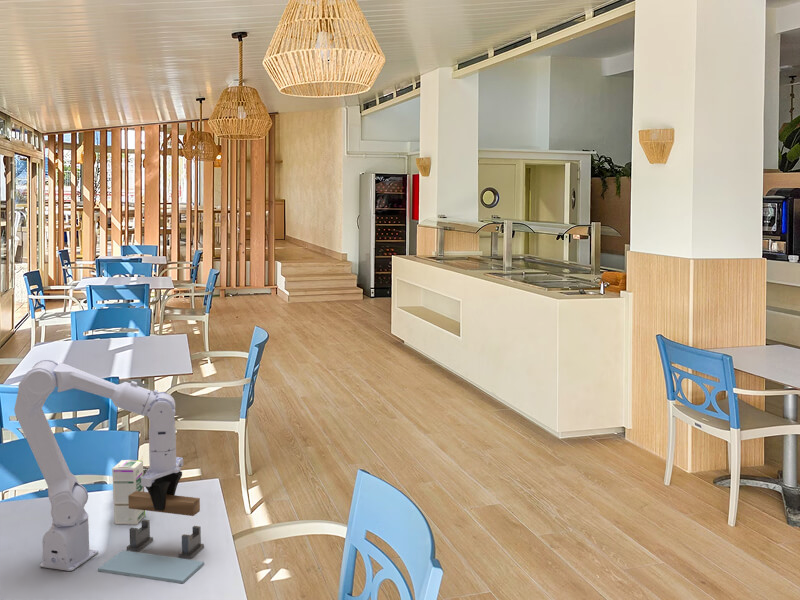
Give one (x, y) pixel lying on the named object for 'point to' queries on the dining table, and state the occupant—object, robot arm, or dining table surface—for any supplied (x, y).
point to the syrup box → (127, 490)
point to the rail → (172, 504)
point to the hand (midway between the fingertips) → (163, 506)
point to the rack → (142, 539)
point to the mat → (151, 566)
